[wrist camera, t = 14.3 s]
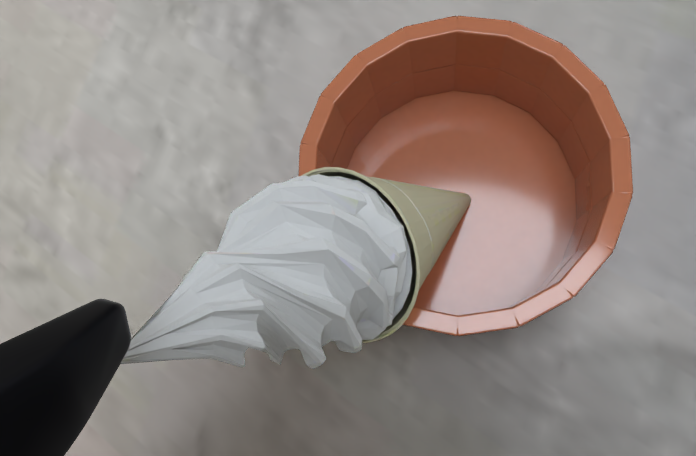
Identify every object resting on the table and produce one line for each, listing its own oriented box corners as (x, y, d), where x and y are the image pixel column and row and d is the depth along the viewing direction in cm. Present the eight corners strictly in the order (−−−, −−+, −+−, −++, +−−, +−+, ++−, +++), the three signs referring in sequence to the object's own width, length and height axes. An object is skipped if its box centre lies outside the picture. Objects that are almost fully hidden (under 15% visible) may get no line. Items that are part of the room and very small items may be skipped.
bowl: (569, 359, 21) (610, 368, 16) (304, 303, 23) (265, 296, 18) (607, 101, 22) (654, 34, 17) (354, 69, 24) (331, 1, 19)
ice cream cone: (389, 168, 24) (11, 278, 12) (492, 109, 20) (114, 182, 9) (440, 278, 23) (106, 497, 12) (553, 236, 20) (247, 482, 9)
